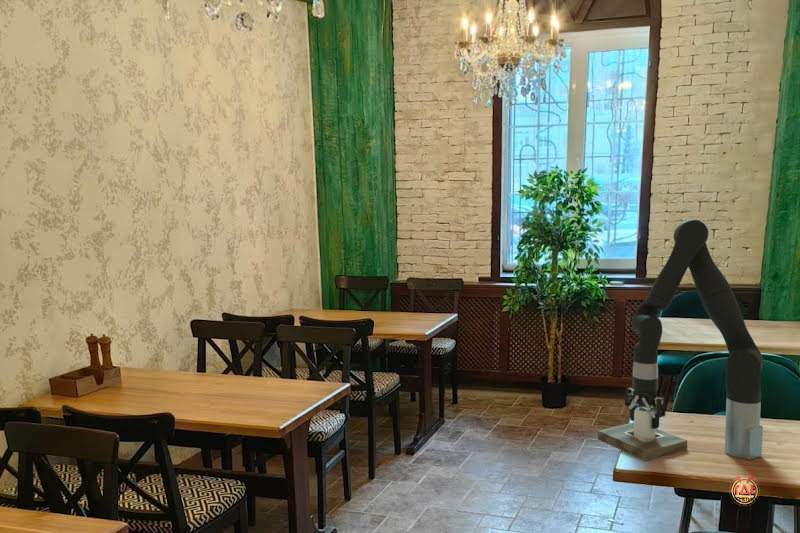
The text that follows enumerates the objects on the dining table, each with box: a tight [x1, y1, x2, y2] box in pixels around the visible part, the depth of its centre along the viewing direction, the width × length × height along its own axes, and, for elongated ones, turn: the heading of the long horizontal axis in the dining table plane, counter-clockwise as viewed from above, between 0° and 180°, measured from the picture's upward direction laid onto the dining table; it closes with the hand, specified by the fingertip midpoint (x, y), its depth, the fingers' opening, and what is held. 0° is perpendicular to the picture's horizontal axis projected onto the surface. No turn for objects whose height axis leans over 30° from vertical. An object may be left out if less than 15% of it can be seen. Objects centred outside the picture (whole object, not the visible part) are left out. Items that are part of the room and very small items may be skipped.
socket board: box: [597, 421, 688, 462], centre depth 201 cm, size 20×18×3 cm
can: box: [633, 406, 656, 440], centre depth 201 cm, size 6×6×12 cm
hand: (644, 424), depth 201 cm, fingers open, 8 cm apart
